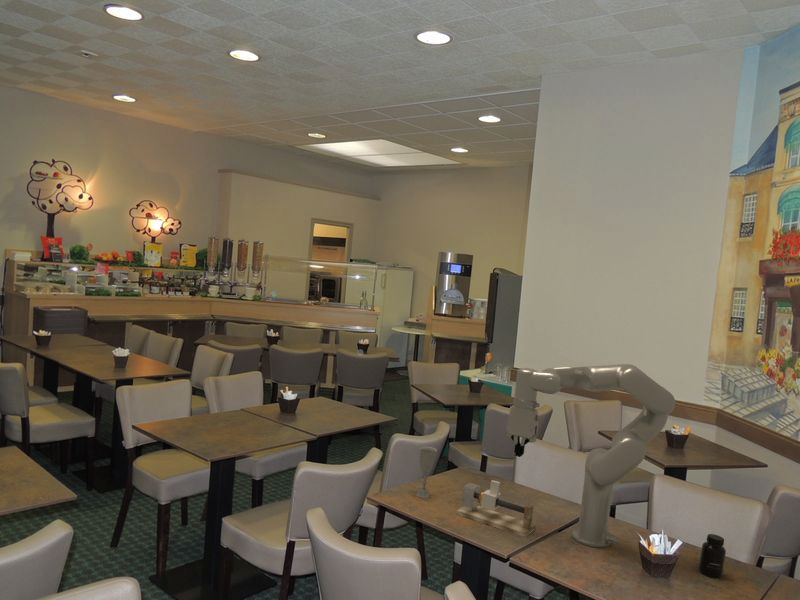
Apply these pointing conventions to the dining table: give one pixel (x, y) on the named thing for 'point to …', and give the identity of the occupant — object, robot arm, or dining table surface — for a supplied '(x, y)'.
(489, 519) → the beige rod holder
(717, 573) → the supplement bottle
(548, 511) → the dining table surface
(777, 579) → the dining table surface
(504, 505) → the dark grey rod
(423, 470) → the chalice
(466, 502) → the connector
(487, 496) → the sleeve
